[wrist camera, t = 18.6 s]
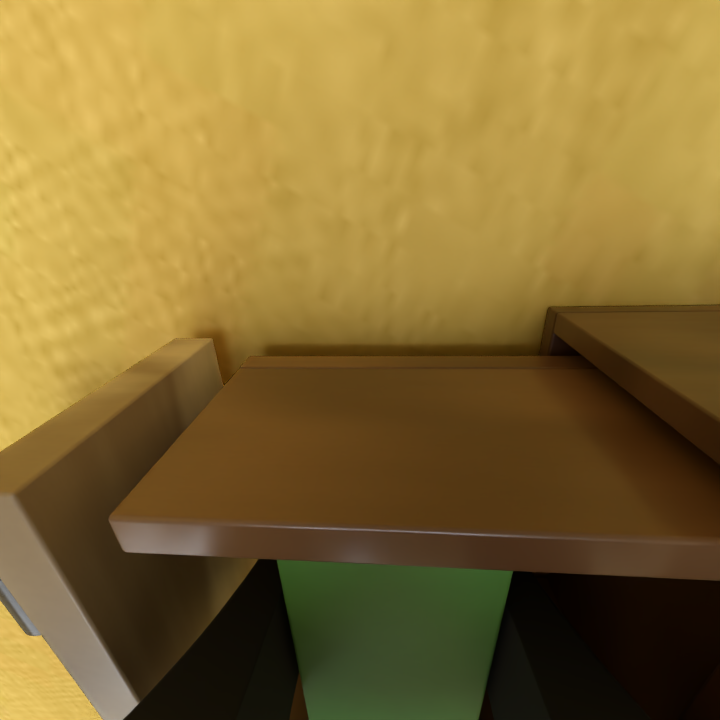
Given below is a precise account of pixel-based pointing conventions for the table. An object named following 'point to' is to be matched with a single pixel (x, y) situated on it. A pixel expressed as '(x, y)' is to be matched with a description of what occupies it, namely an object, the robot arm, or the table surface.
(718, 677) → the cabinet
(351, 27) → the table surface
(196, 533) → the drawer
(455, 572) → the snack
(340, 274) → the table surface
